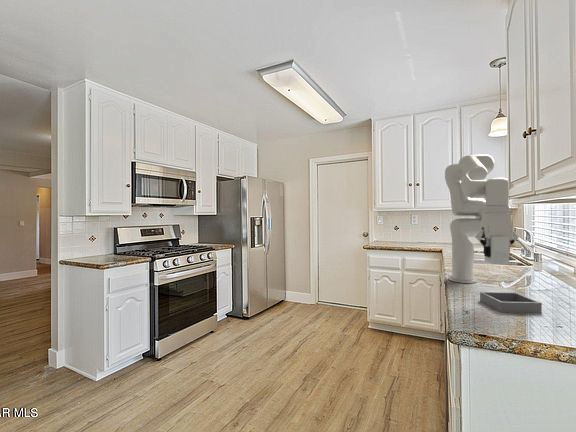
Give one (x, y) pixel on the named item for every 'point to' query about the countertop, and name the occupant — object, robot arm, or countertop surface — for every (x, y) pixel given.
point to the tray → (510, 302)
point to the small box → (499, 250)
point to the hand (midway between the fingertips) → (496, 256)
